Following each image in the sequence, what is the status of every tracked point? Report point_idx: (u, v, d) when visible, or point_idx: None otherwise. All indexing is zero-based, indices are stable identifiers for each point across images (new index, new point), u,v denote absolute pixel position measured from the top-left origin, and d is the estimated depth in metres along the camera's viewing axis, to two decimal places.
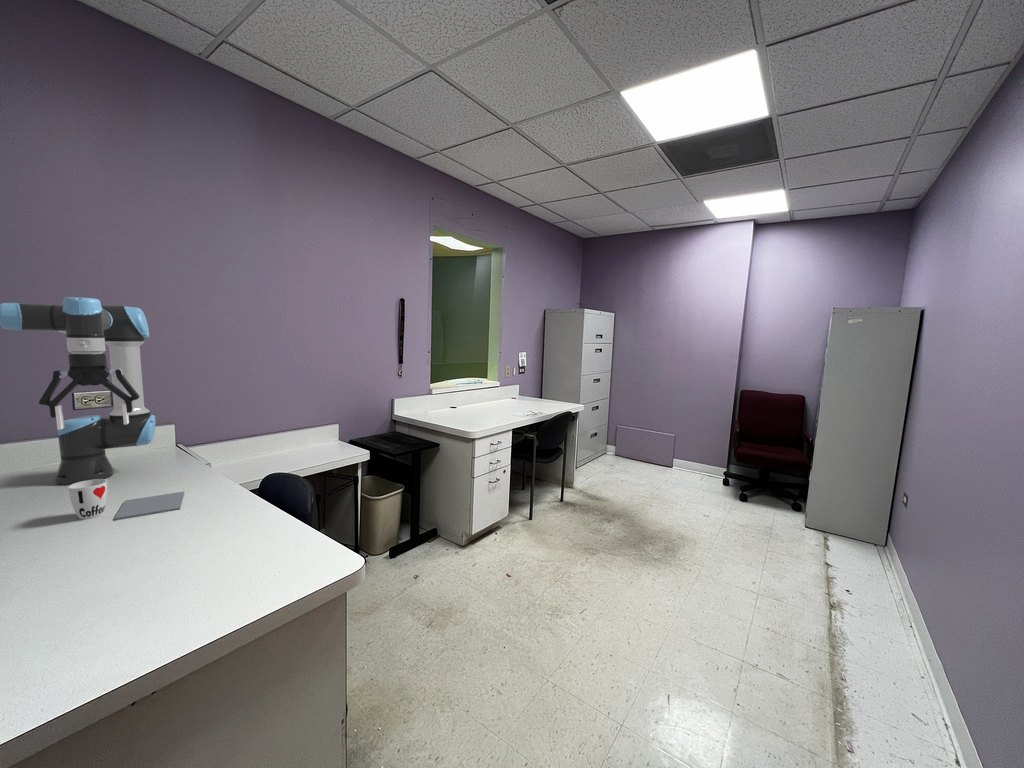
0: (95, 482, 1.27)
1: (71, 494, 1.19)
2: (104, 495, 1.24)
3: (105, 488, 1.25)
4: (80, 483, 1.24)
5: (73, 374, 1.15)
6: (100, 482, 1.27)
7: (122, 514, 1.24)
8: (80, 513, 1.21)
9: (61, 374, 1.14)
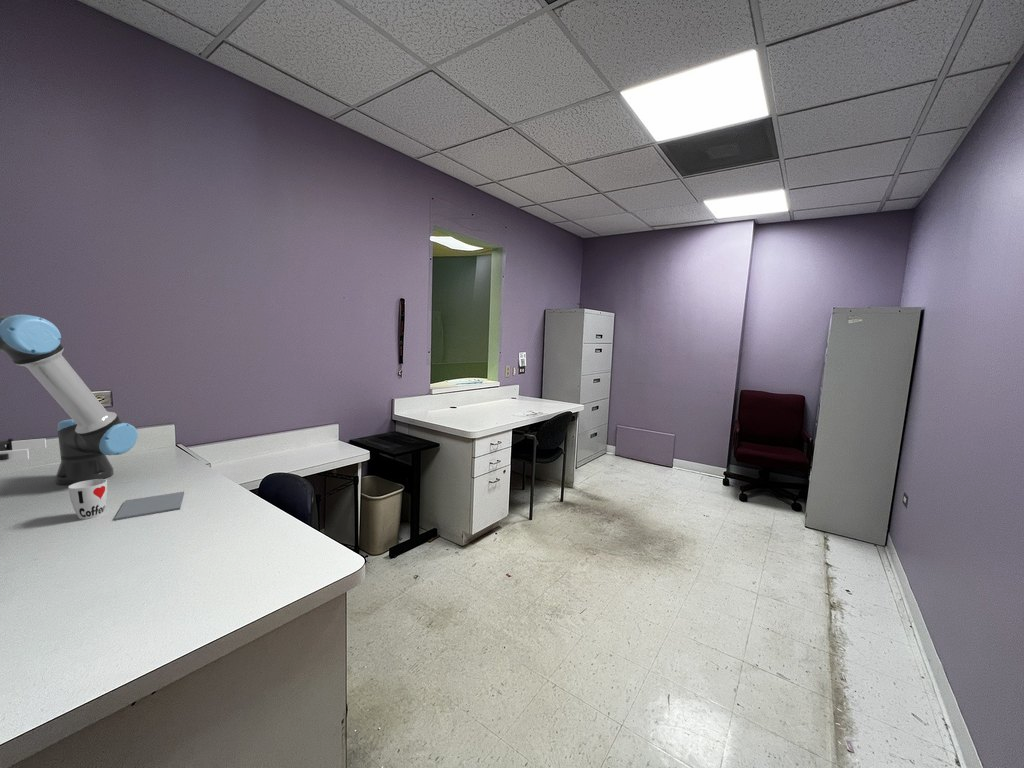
0: (95, 482, 1.27)
1: (71, 494, 1.19)
2: (104, 495, 1.24)
3: (105, 488, 1.25)
4: (80, 483, 1.24)
5: None
6: (100, 482, 1.27)
7: (122, 514, 1.24)
8: (80, 513, 1.21)
9: None
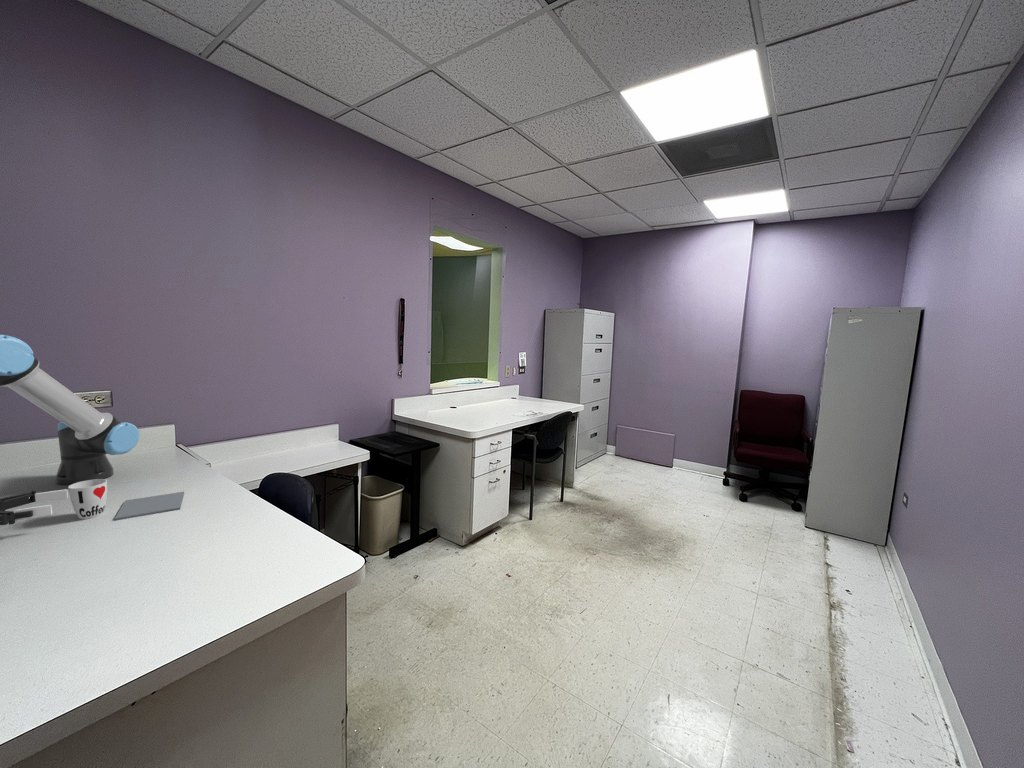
0: (95, 482, 1.26)
1: (71, 494, 1.19)
2: (104, 495, 1.24)
3: (105, 488, 1.25)
4: (80, 483, 1.24)
5: None
6: (100, 482, 1.27)
7: (122, 514, 1.24)
8: (80, 513, 1.21)
9: None
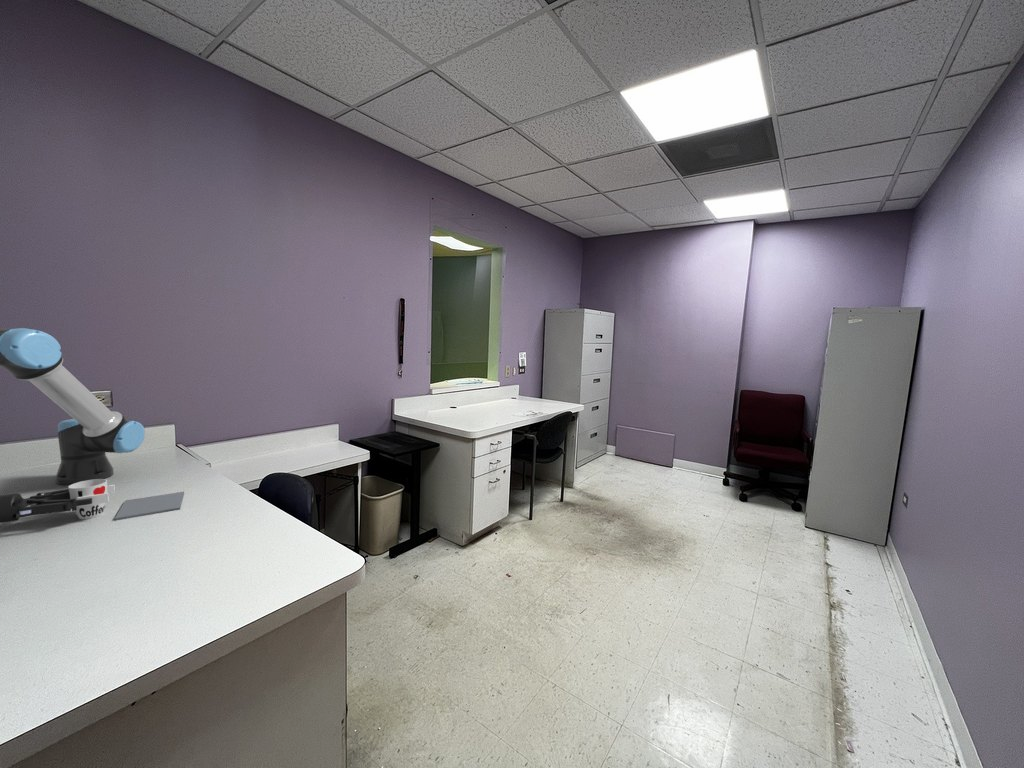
0: (95, 482, 1.27)
1: (71, 494, 1.19)
2: None
3: (105, 488, 1.25)
4: (80, 483, 1.24)
5: None
6: (100, 482, 1.27)
7: (122, 514, 1.24)
8: (80, 513, 1.21)
9: None
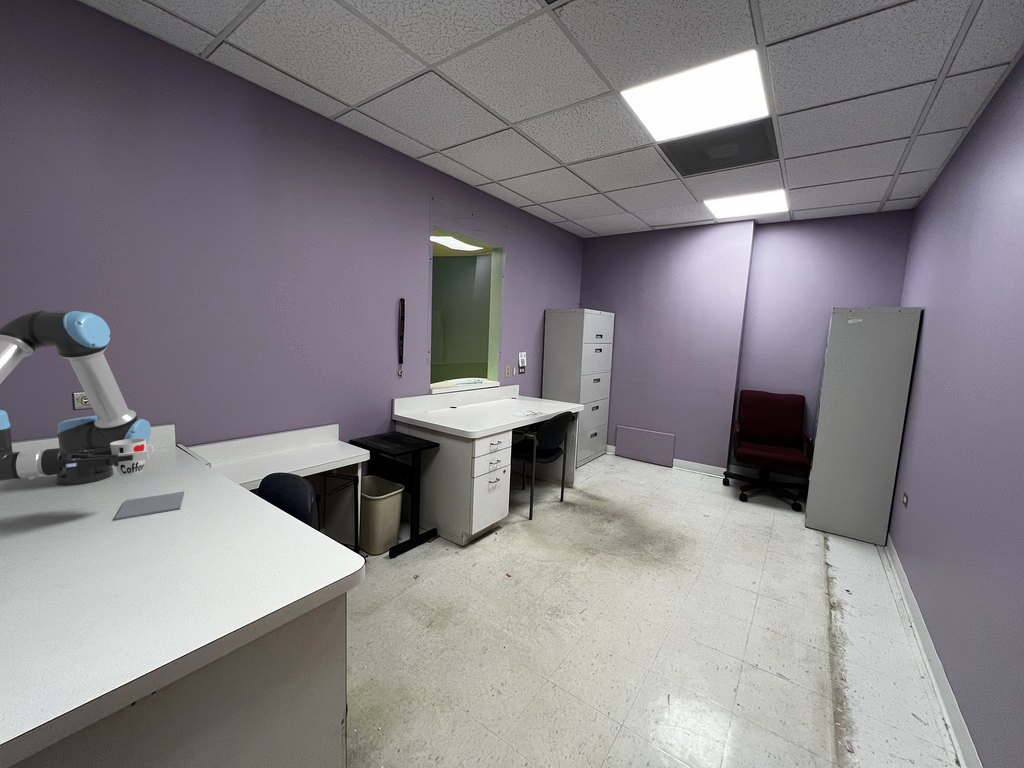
0: (134, 441, 1.30)
1: (113, 450, 1.23)
2: None
3: (144, 446, 1.28)
4: (121, 441, 1.28)
5: None
6: (139, 441, 1.30)
7: (122, 514, 1.24)
8: (121, 469, 1.24)
9: None
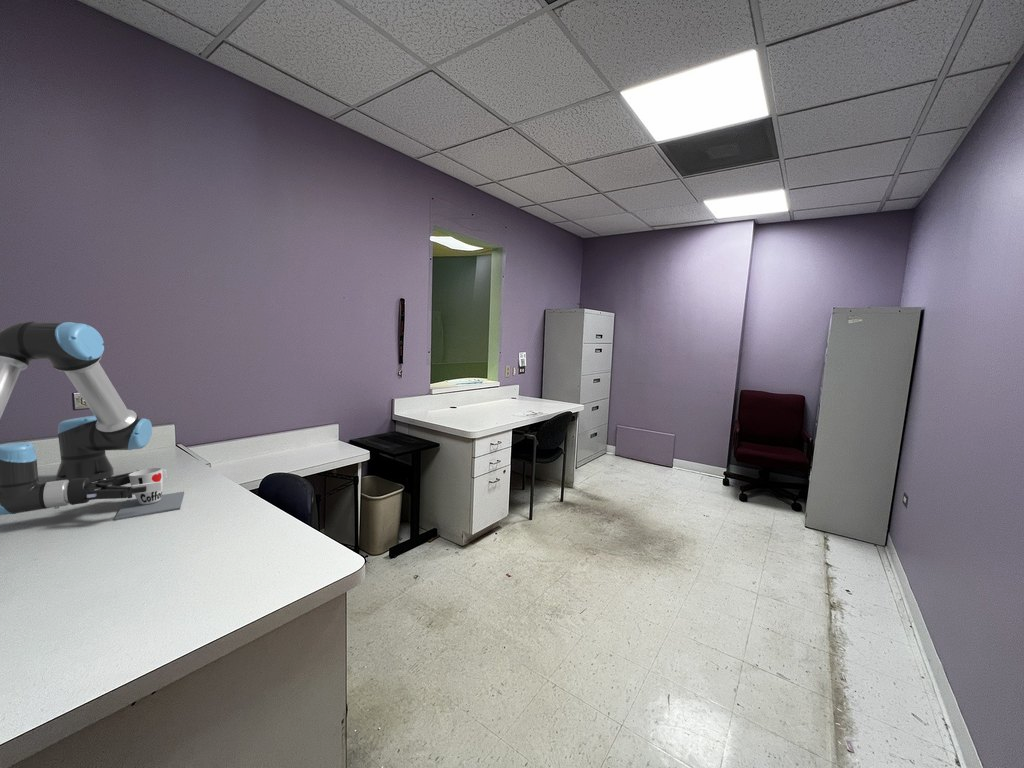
0: (151, 471, 1.36)
1: (132, 481, 1.29)
2: (161, 481, 1.33)
3: (161, 475, 1.34)
4: (138, 472, 1.33)
5: None
6: (155, 470, 1.36)
7: (122, 514, 1.24)
8: (141, 498, 1.30)
9: None
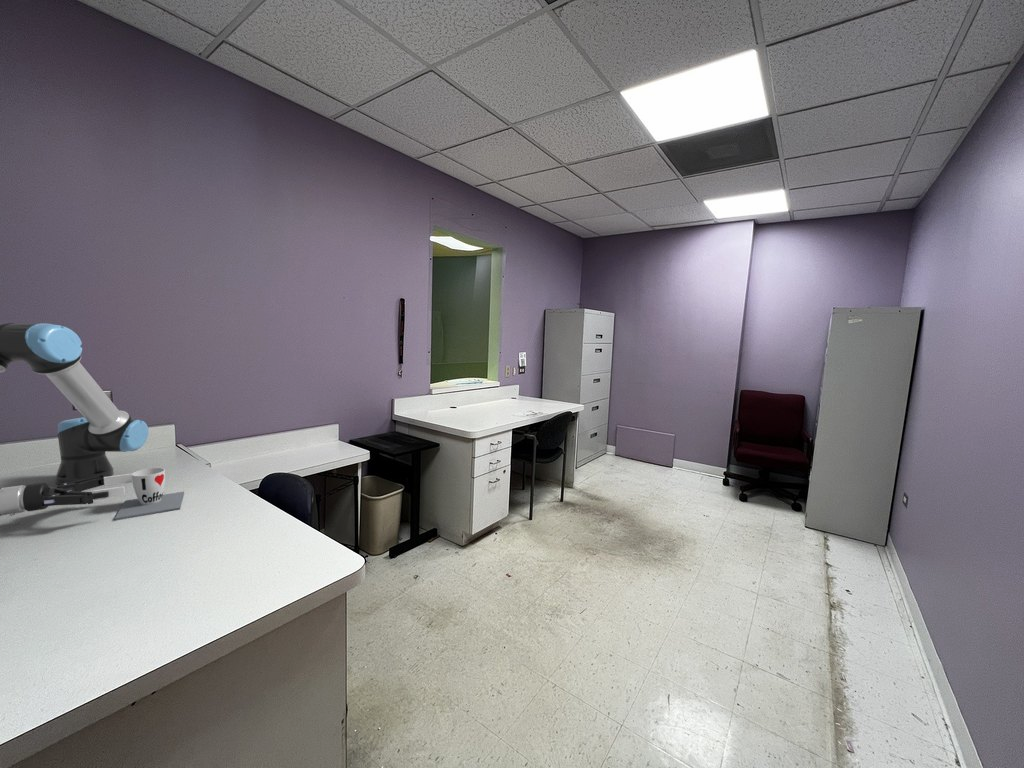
0: (153, 471, 1.36)
1: (135, 481, 1.29)
2: (163, 482, 1.34)
3: (164, 476, 1.34)
4: (140, 471, 1.34)
5: None
6: (157, 471, 1.36)
7: (122, 514, 1.24)
8: (142, 499, 1.30)
9: None
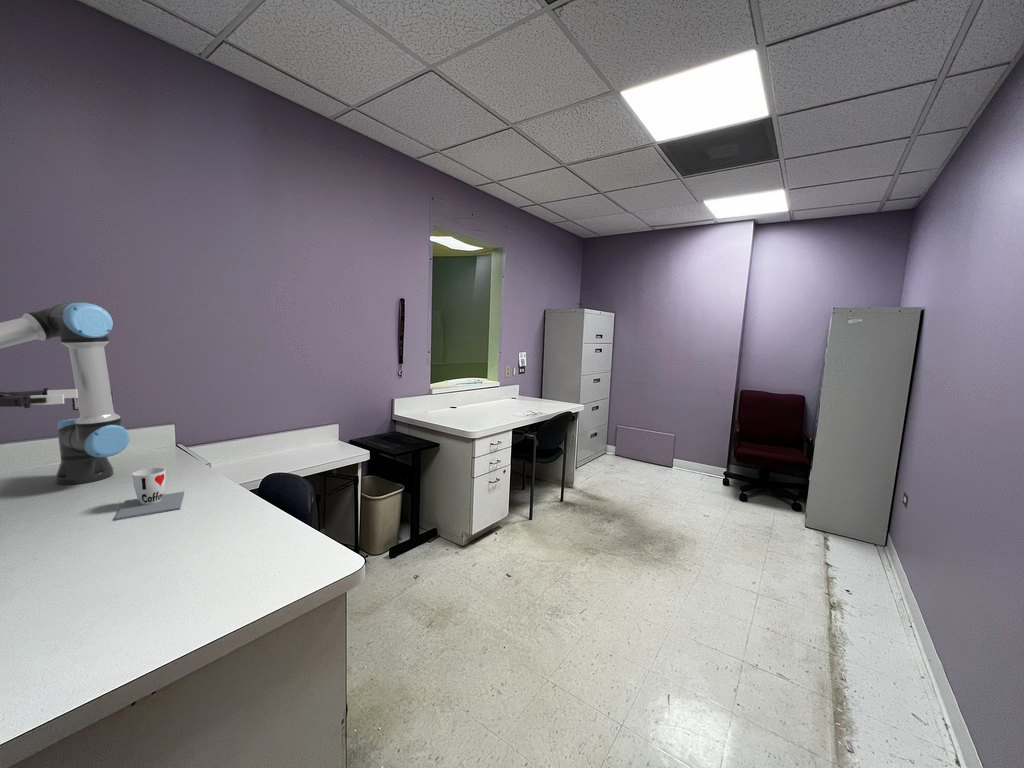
0: (154, 470, 1.36)
1: (135, 481, 1.29)
2: (163, 482, 1.34)
3: (164, 476, 1.34)
4: (141, 471, 1.34)
5: None
6: (158, 471, 1.36)
7: (122, 514, 1.24)
8: (142, 498, 1.30)
9: None
